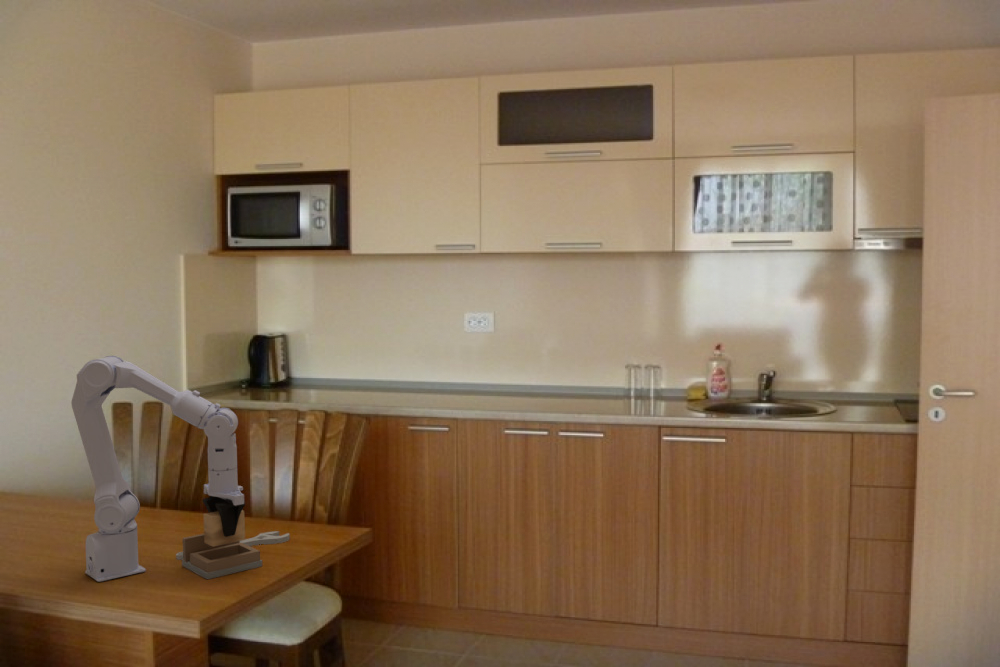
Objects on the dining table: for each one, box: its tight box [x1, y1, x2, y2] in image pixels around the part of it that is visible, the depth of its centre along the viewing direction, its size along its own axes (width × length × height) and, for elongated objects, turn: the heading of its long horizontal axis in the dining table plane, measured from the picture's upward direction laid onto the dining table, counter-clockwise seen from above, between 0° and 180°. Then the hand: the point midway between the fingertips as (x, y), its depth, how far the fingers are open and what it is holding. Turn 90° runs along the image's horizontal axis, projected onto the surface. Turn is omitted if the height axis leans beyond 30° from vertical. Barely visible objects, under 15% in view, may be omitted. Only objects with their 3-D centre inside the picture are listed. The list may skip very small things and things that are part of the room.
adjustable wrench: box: [175, 530, 290, 561], centre depth 198 cm, size 25×6×2 cm, turn 123°
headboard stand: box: [181, 533, 263, 580], centre depth 184 cm, size 12×12×6 cm
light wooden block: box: [203, 510, 246, 547], centre depth 183 cm, size 7×4×6 cm, turn 133°
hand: (224, 533), depth 183 cm, fingers closed on light wooden block, 4 cm apart
